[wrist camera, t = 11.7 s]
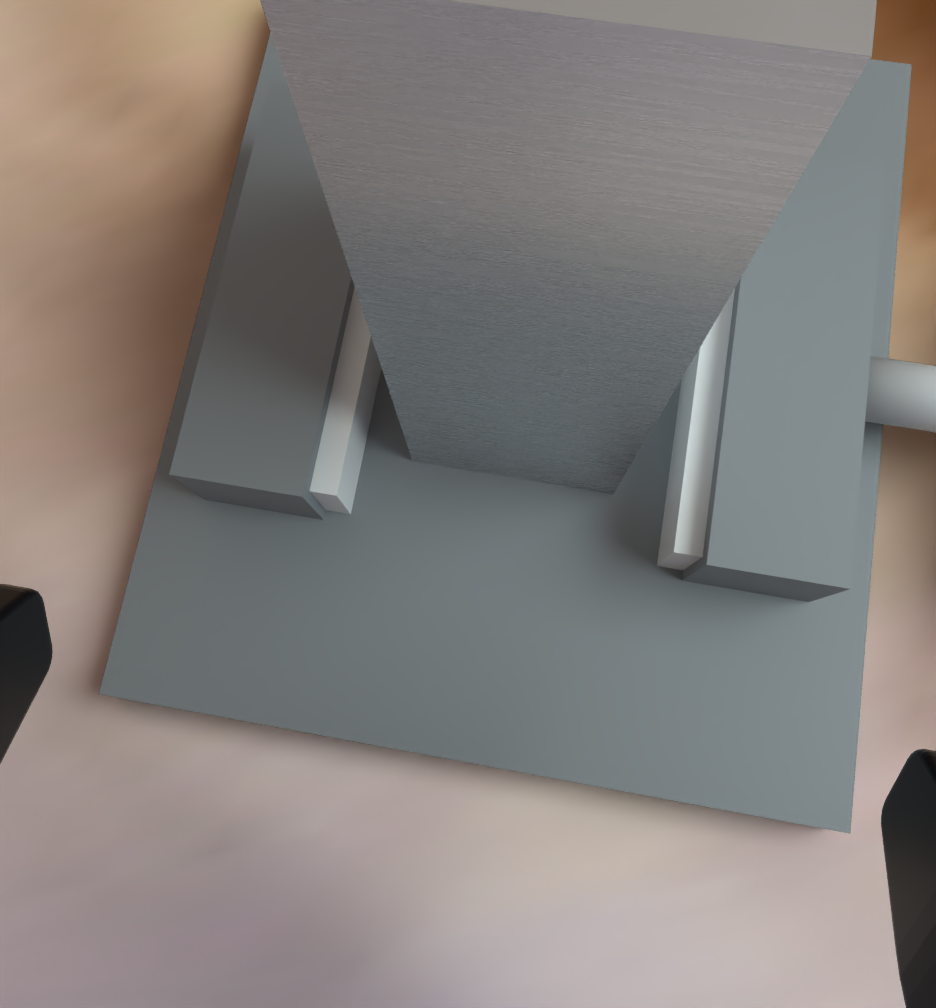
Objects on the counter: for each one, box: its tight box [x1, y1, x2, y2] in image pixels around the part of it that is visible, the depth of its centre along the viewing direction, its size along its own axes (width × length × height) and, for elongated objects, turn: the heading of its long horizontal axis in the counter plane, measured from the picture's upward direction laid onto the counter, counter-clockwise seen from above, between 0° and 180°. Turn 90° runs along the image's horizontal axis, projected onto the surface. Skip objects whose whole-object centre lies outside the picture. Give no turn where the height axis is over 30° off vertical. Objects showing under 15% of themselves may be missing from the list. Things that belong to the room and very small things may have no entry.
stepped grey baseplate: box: [99, 32, 936, 833], centre depth 17 cm, size 16×18×3 cm
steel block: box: [260, 0, 877, 494], centre depth 12 cm, size 5×4×12 cm
